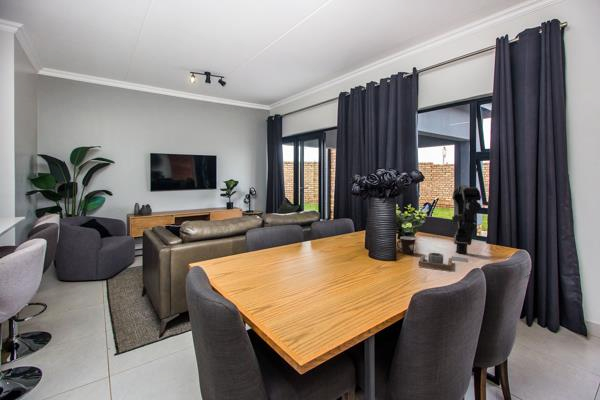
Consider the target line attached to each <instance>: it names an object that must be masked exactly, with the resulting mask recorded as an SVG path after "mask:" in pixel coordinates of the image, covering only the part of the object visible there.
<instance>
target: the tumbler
mask: <svg viewBox="0 0 600 400" xmlns="http://www.w3.org/2000/svg"><path fill="white" fill-rule="evenodd" d="M427 262H431V263H438V264H444V254H443V253H440V252H428V261H427Z"/></svg>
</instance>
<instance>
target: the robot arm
mask: <svg viewBox="0 0 600 400" xmlns="http://www.w3.org/2000/svg"><path fill="white" fill-rule="evenodd" d="M451 198H452V201H453V204H454V205H455V207H456V214H455V215H453V216H452V217H451V219H452V222H453V223H457V229H456V232H455V234H454V236H453V244H454V245H455V246H456V249H455V254H458V255H468V246H471V245H472V241H473V237H472V235H473V232H474V230H475V229H476V224H477V223H476V222H477V220H476V213H478V212H480V211H481V210H482V205H481V203H480V202H479V201H481V200H482V196H481V192H480V190H479V189H478V187H471V186H469V185H463V184H461V185H457V188H456V189H454V191H453V193H452V197H451Z"/></svg>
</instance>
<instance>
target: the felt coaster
mask: <svg viewBox="0 0 600 400" xmlns="http://www.w3.org/2000/svg"><path fill="white" fill-rule="evenodd" d="M450 258H452V261H454V262H463V263H468V261H469V260H468V258H467V257H461V256H451V257H450Z"/></svg>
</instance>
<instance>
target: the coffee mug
mask: <svg viewBox="0 0 600 400" xmlns="http://www.w3.org/2000/svg"><path fill="white" fill-rule="evenodd" d="M416 239H417V238H416V237H413V236H400V240H398V241H397V243H396V247H397V248H398V249H400V250H401V254H403V255H411V256H412V255H414V252H415V245H416ZM399 243H400V246H399Z"/></svg>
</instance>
